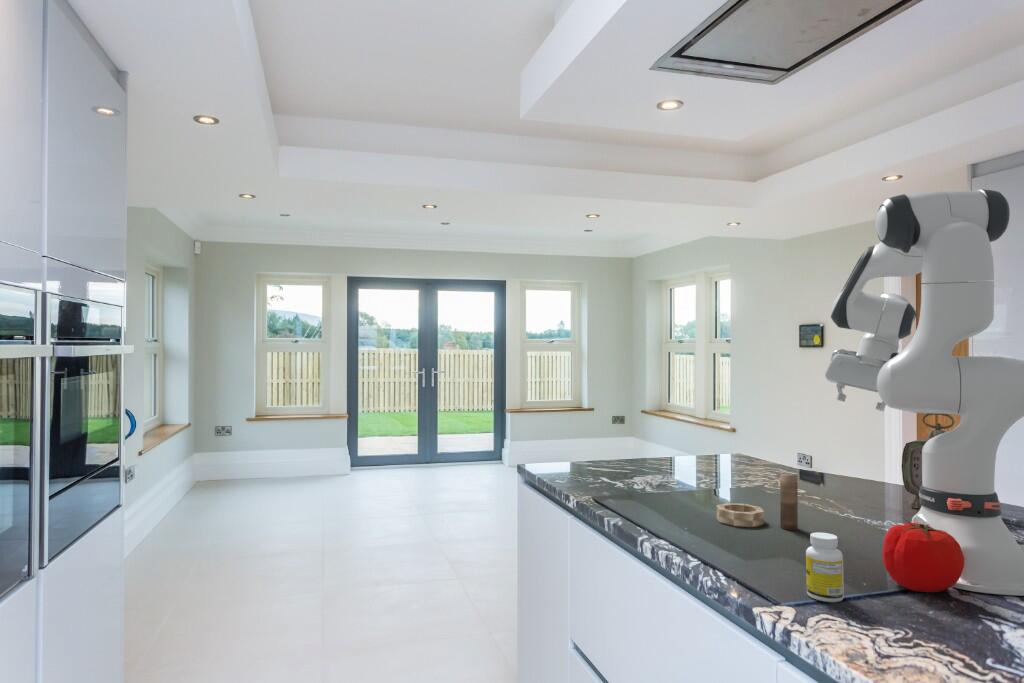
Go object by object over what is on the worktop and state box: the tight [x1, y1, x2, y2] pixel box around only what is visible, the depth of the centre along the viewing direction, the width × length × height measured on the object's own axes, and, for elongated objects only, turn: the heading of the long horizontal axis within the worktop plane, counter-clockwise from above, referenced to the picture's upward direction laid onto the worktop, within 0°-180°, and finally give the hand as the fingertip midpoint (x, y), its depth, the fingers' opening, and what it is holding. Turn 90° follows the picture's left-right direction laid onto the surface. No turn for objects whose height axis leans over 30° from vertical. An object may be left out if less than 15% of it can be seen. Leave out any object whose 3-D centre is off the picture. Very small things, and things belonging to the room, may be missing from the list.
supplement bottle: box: [805, 532, 845, 603], centre depth 102 cm, size 5×5×10 cm
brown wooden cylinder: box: [779, 472, 799, 531], centre depth 143 cm, size 4×4×12 cm
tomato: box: [881, 517, 964, 593], centre depth 105 cm, size 12×12×11 cm
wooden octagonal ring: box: [716, 502, 765, 528], centre depth 149 cm, size 10×10×3 cm
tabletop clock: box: [901, 413, 955, 508], centre depth 161 cm, size 14×9×25 cm, turn 42°
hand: (859, 405), depth 163 cm, fingers open, 8 cm apart
